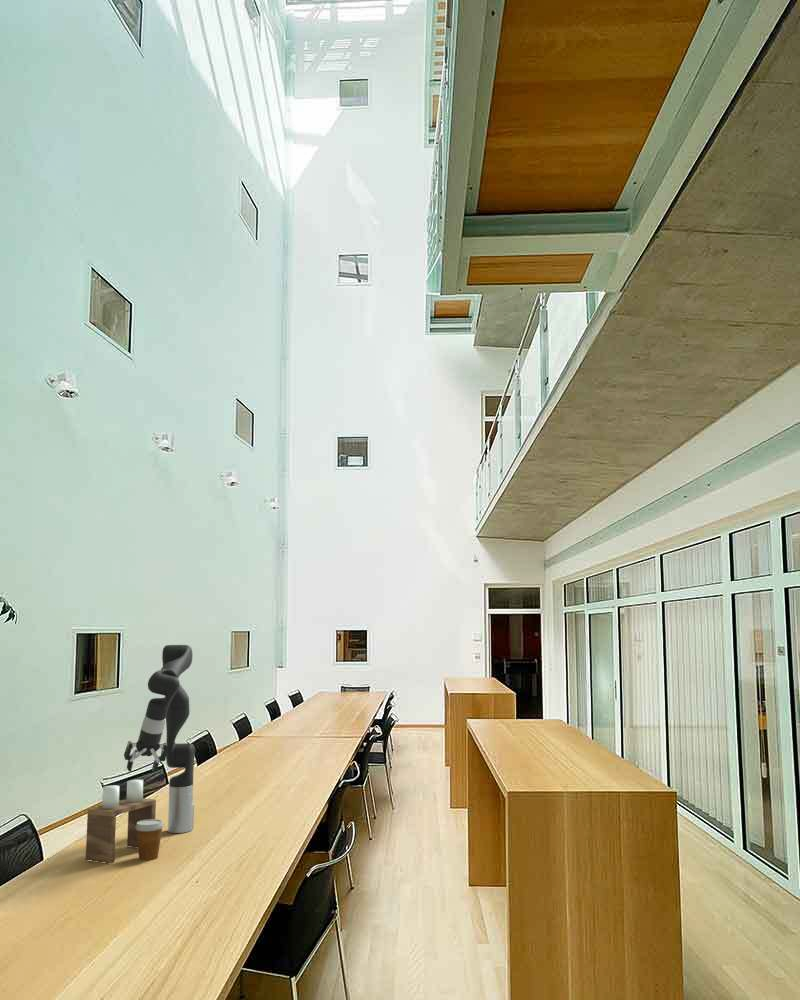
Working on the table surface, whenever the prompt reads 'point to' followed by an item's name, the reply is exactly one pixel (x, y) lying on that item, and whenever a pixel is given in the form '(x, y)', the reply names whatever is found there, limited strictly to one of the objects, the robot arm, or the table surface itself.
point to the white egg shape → (134, 791)
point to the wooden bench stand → (114, 827)
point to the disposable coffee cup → (149, 838)
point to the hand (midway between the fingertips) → (141, 770)
